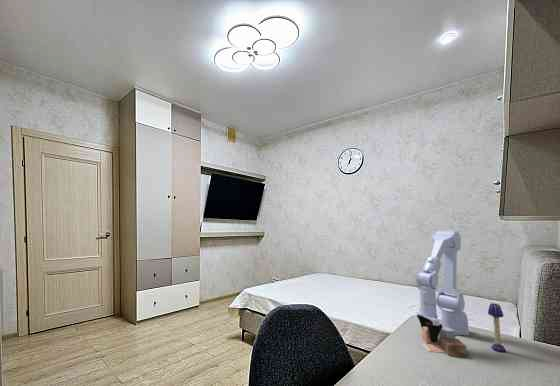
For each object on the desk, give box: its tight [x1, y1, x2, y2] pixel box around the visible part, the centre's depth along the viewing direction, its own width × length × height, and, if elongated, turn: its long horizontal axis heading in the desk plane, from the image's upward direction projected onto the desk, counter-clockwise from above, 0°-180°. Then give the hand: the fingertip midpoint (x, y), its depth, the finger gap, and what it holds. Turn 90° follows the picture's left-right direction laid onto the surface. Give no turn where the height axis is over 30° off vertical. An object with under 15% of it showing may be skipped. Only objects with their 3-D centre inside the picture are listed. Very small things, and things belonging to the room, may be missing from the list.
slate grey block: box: [438, 327, 457, 342], centre depth 107 cm, size 4×4×5 cm
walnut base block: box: [440, 337, 467, 358], centre depth 98 cm, size 6×6×4 cm
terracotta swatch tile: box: [422, 343, 446, 354], centre depth 101 cm, size 6×6×1 cm
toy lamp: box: [487, 303, 507, 353], centre depth 101 cm, size 5×5×17 cm
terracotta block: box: [421, 327, 438, 345], centre depth 107 cm, size 4×4×5 cm
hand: (429, 337), depth 107 cm, fingers open, 7 cm apart
